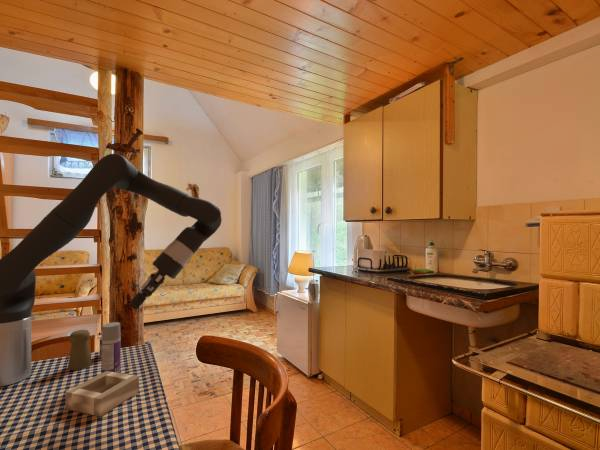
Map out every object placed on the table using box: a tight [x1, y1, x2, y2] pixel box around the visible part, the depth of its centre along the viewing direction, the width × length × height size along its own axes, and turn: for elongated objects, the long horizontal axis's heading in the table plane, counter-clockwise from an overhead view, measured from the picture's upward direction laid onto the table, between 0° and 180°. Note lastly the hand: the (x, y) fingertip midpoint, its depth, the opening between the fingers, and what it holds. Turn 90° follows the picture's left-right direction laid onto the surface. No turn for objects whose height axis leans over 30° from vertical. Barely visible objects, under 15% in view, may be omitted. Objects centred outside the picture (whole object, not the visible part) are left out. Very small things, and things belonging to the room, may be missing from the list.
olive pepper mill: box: [67, 329, 92, 371], centre depth 95 cm, size 6×6×11 cm
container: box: [101, 321, 122, 373], centre depth 89 cm, size 5×5×15 cm
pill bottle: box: [99, 330, 102, 358], centre depth 103 cm, size 5×5×8 cm
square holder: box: [64, 371, 140, 417], centre depth 77 cm, size 11×11×4 cm
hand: (132, 306), depth 83 cm, fingers open, 8 cm apart
